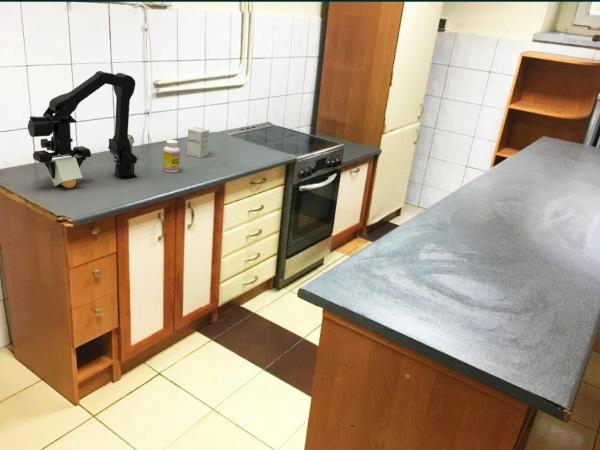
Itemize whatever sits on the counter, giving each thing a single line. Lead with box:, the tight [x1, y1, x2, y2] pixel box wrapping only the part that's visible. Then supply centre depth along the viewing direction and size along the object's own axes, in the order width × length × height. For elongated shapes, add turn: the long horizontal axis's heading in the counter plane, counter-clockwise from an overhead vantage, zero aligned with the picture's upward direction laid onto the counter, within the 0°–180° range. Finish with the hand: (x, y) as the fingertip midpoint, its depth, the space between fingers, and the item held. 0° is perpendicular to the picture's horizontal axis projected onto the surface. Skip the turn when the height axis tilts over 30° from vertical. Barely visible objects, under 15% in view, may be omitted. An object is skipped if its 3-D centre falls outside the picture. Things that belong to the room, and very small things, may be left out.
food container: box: [113, 133, 135, 163], centre depth 223 cm, size 12×6×10 cm, turn 168°
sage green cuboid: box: [49, 157, 83, 187], centre depth 187 cm, size 8×8×8 cm
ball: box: [61, 179, 77, 189], centre depth 186 cm, size 5×5×5 cm
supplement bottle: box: [162, 139, 181, 174], centre depth 216 cm, size 7×7×13 cm
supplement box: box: [186, 126, 210, 159], centre depth 242 cm, size 7×7×13 cm
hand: (63, 176), depth 188 cm, fingers closed on sage green cuboid, 8 cm apart
